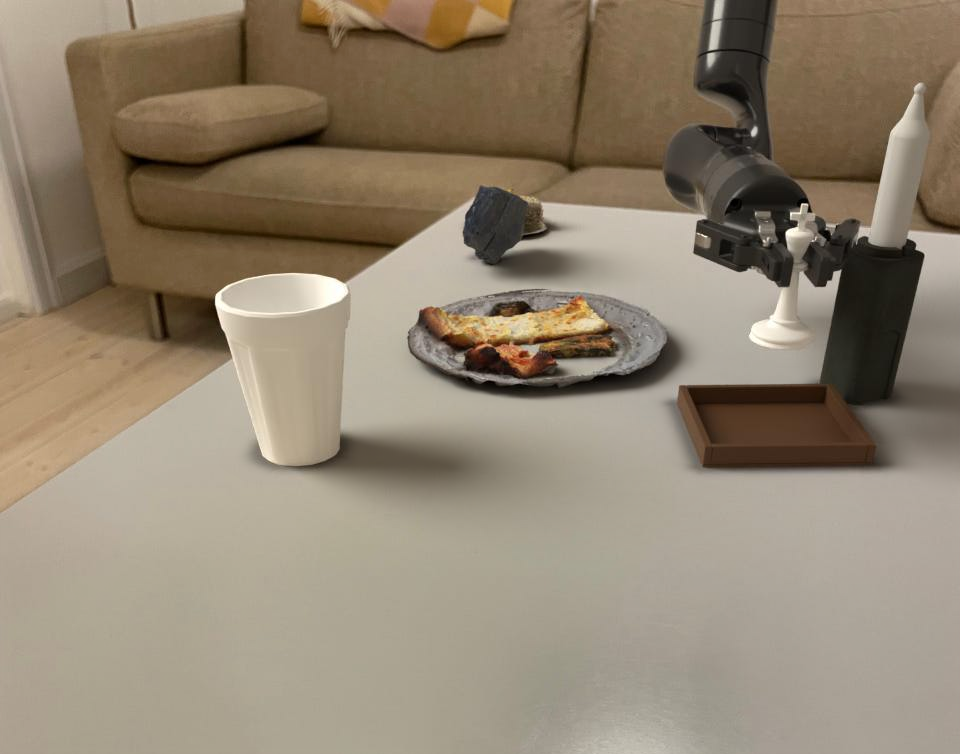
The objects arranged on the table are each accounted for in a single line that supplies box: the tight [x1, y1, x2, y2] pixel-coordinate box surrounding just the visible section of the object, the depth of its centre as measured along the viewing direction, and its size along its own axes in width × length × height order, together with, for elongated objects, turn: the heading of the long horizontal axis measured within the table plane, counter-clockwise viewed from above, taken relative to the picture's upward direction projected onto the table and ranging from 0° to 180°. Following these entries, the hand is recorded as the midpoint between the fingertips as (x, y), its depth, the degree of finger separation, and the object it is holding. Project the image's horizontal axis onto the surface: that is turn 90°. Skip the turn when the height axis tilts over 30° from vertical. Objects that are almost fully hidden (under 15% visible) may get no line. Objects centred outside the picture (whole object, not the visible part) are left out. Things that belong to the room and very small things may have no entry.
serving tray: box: [676, 383, 877, 468], centre depth 85 cm, size 13×12×2 cm
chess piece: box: [748, 204, 816, 351], centre depth 78 cm, size 5×5×10 cm
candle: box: [818, 82, 931, 406], centre depth 86 cm, size 5×5×25 cm
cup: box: [214, 272, 352, 467], centre depth 81 cm, size 10×10×13 cm
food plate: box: [406, 288, 668, 388], centre depth 101 cm, size 25×23×4 cm
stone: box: [462, 184, 528, 265], centre depth 124 cm, size 14×6×10 cm, turn 170°
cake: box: [507, 187, 548, 236], centre depth 137 cm, size 10×10×5 cm
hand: (805, 273), depth 75 cm, fingers closed on chess piece
